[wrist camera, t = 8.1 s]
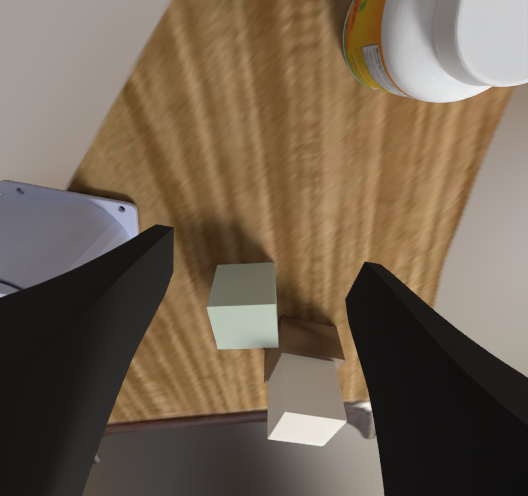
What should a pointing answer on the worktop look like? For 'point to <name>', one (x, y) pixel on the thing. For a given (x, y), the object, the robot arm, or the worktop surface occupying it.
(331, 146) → the worktop surface
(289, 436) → the cream cube
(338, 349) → the walnut block
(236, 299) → the sage cube
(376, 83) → the supplement bottle
